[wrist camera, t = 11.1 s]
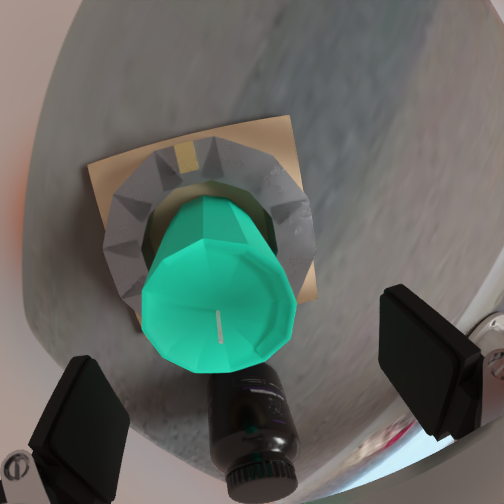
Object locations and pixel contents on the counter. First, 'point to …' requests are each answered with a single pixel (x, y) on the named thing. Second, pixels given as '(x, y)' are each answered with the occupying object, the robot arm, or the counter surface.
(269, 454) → the supplement bottle
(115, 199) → the steel collar
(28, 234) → the counter surface
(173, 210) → the oak board
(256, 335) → the candle
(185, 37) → the counter surface
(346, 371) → the counter surface
